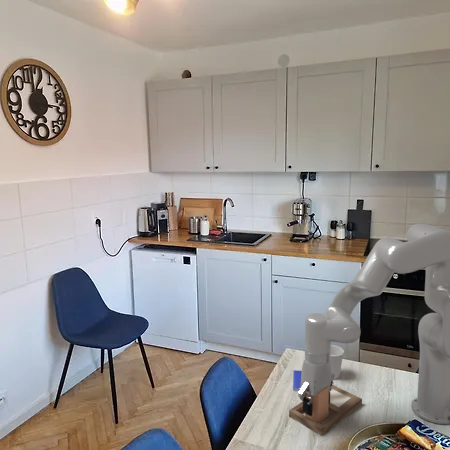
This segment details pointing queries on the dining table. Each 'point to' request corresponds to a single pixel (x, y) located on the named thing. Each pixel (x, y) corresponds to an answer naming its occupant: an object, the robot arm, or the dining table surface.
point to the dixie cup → (336, 360)
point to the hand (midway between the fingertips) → (316, 407)
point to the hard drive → (296, 380)
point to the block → (319, 406)
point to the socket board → (329, 410)
